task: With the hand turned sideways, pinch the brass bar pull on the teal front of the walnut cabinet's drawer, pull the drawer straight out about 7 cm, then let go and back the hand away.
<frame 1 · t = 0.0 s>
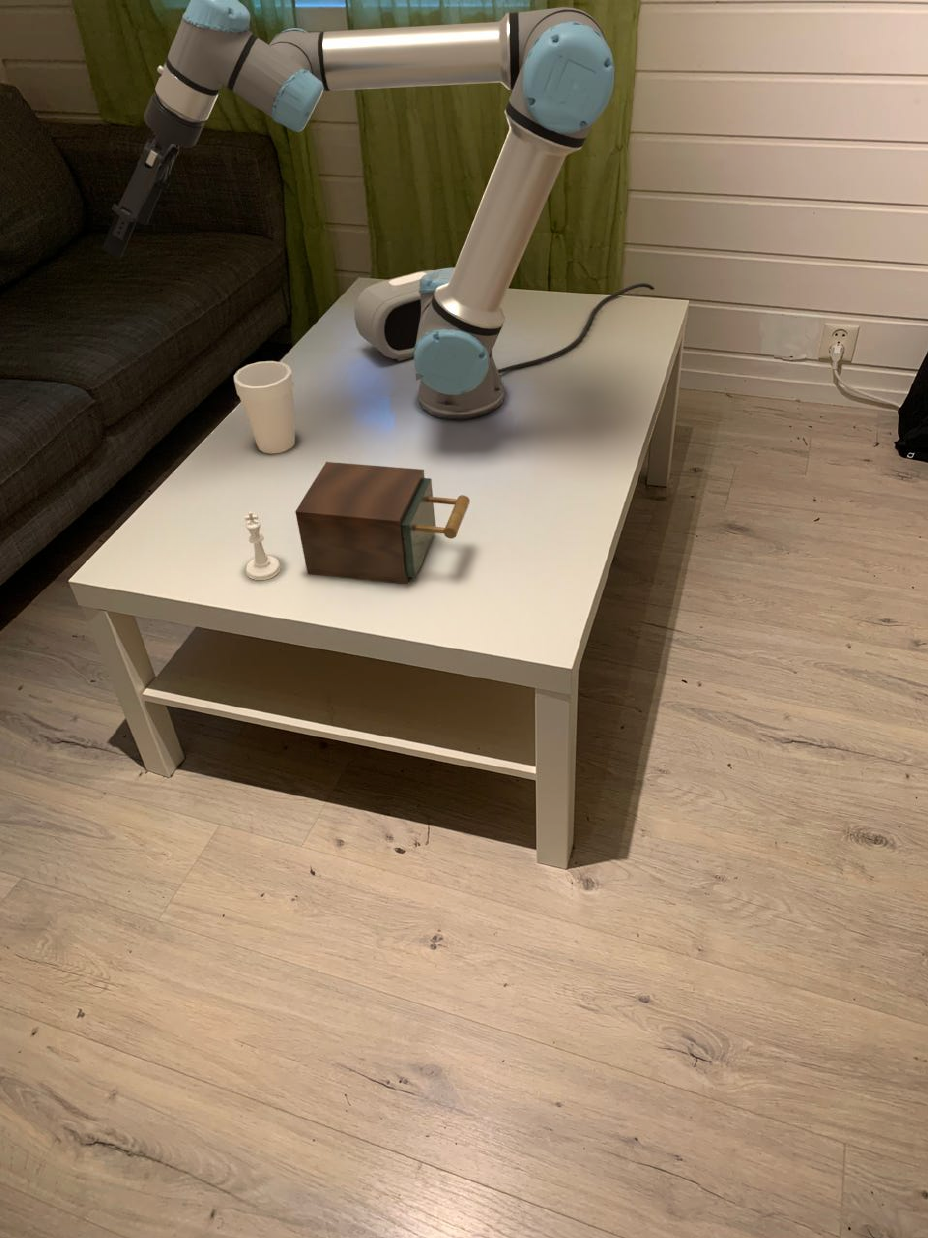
hand: (125, 236, 150), 36 cm above the table, tool tilted 35°, fingers open, 13 cm apart
cabinet: (369, 552, 147), on the table
foam cup: (276, 444, 172), on the table
alarm clock: (416, 346, 198), on the table
drawer: (397, 524, 142), point 5 cm above the table, slide at 0.0 cm, touching cabinet
chess piece: (263, 570, 145), on the table
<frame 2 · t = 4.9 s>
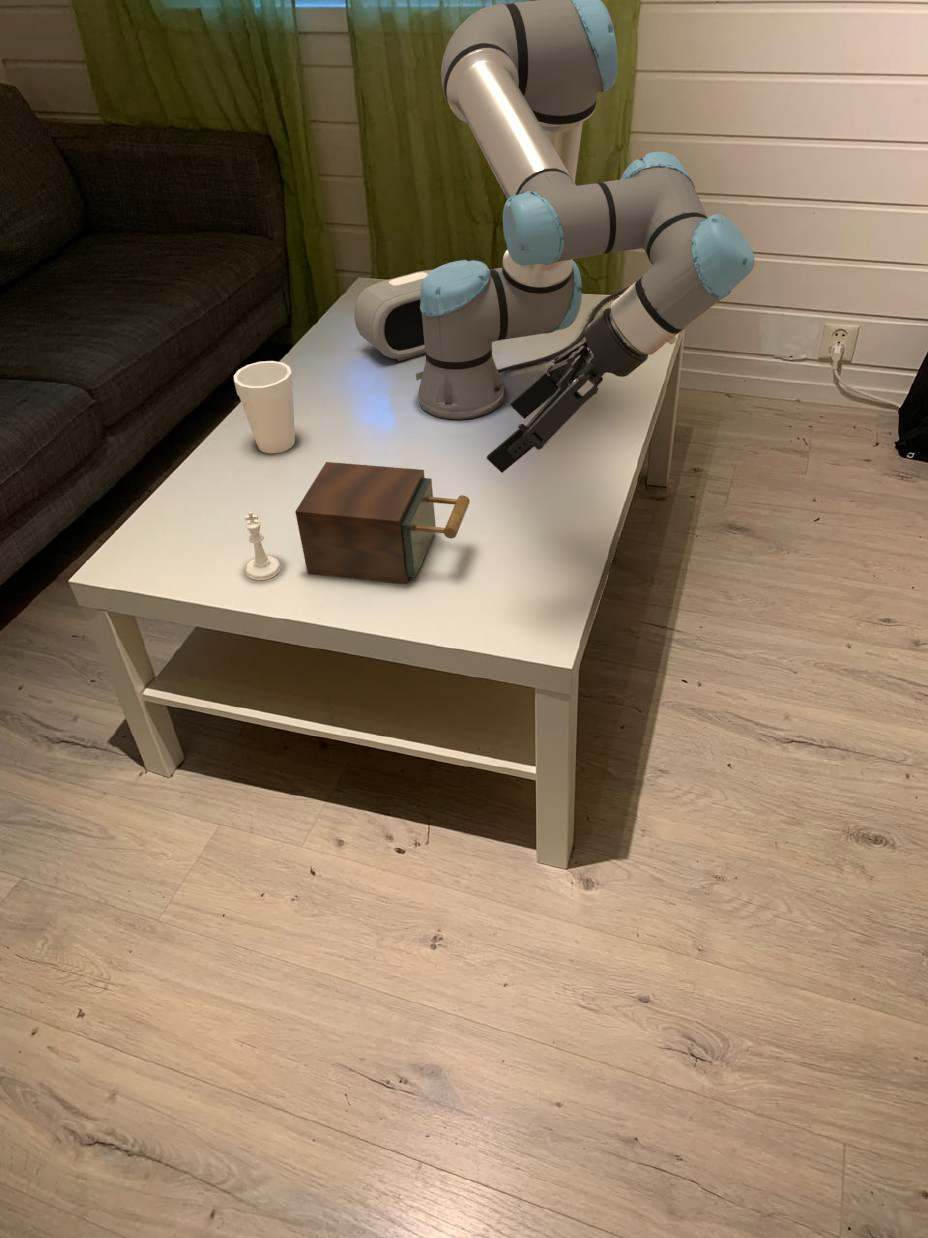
hand: (506, 436, 129), 21 cm above the table, tool tilted 45°, fingers open, 13 cm apart
nothing on the table moved.
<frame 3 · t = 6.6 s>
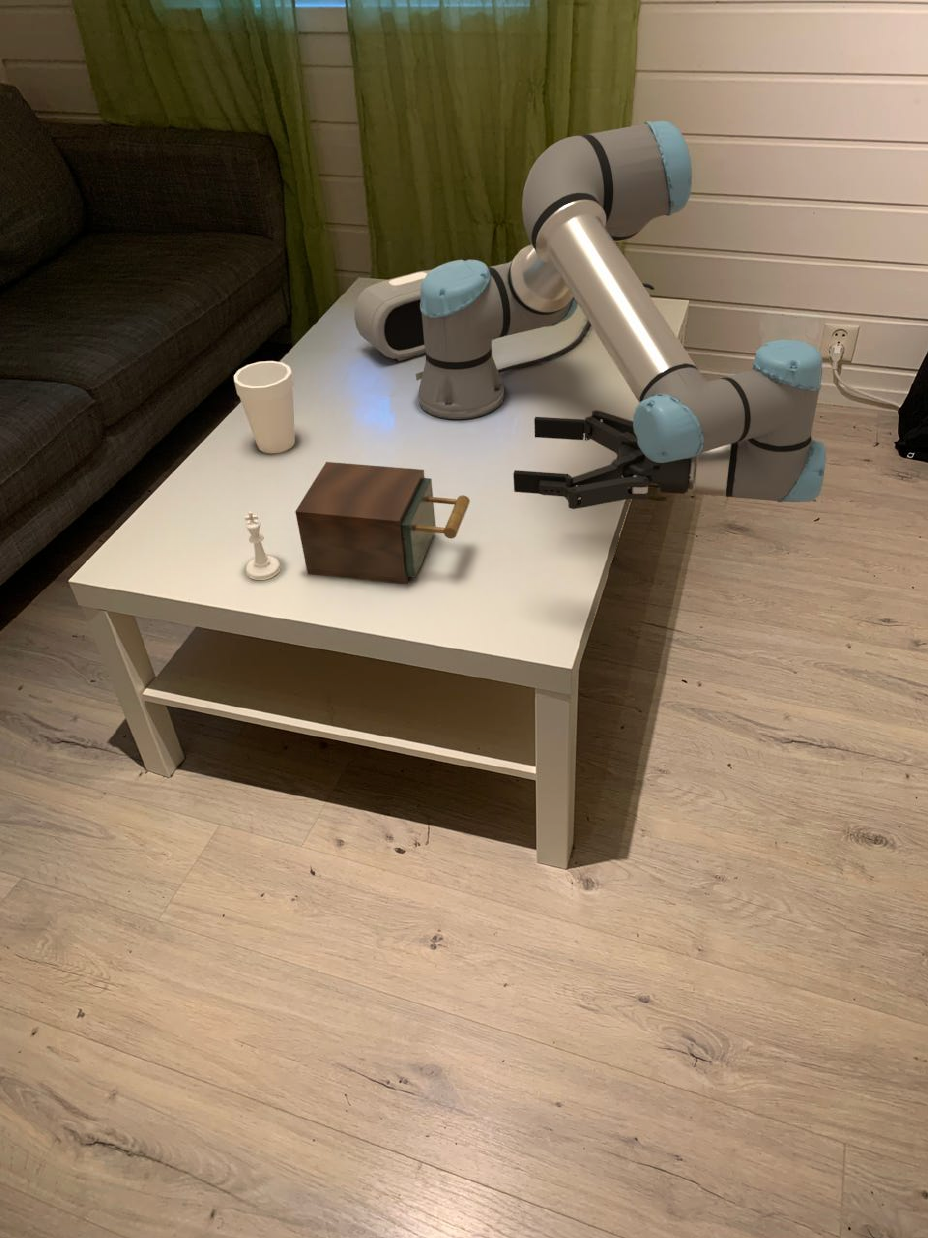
hand: (524, 452, 130), 19 cm above the table, tool horizontal, fingers open, 13 cm apart
nothing on the table moved.
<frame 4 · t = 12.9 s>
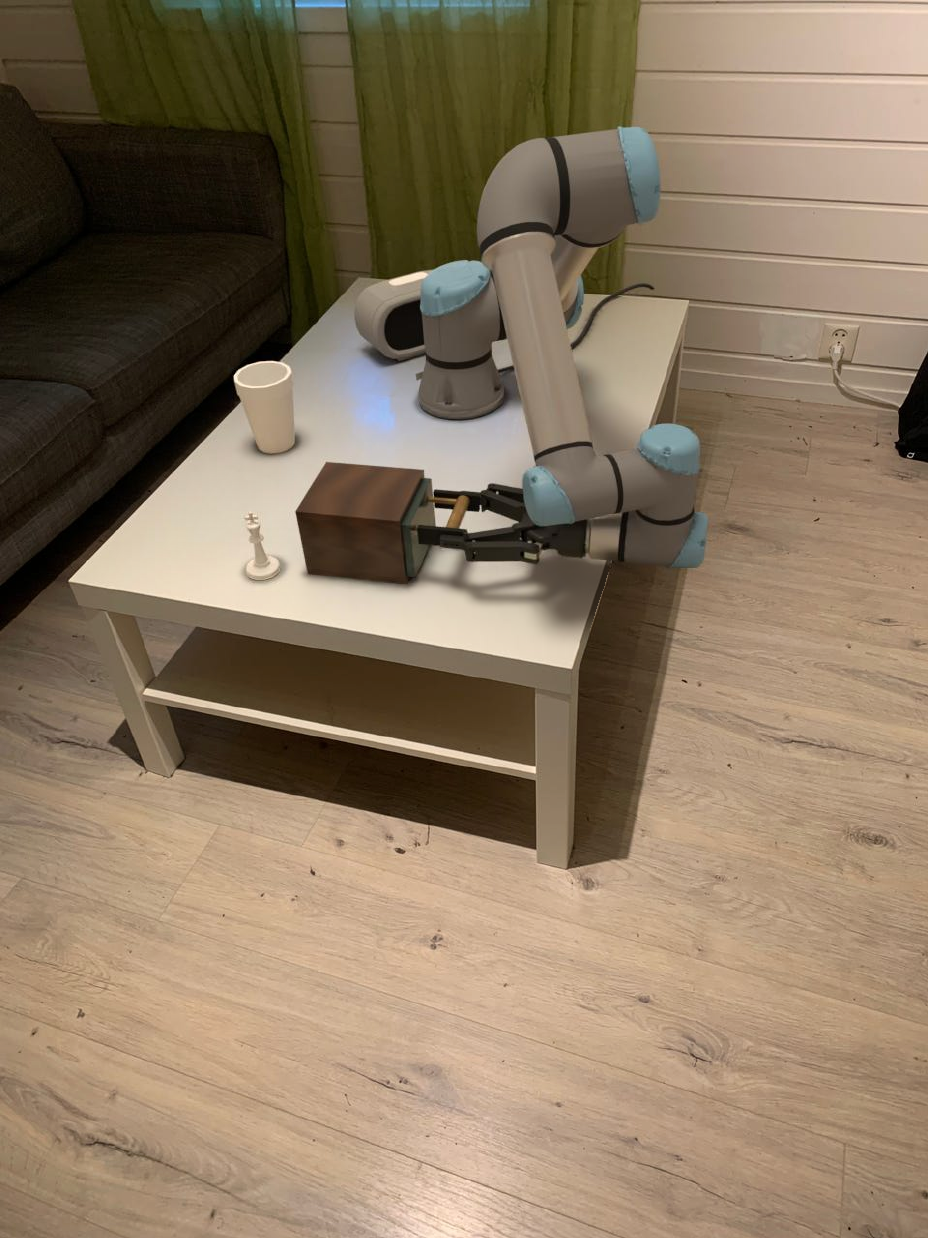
hand: (426, 516, 140), 7 cm above the table, tool horizontal, fingers closed on drawer, 8 cm apart
drawer: (397, 524, 142), point 5 cm above the table, slide at 0.0 cm, touching gripper
everything else where it was.
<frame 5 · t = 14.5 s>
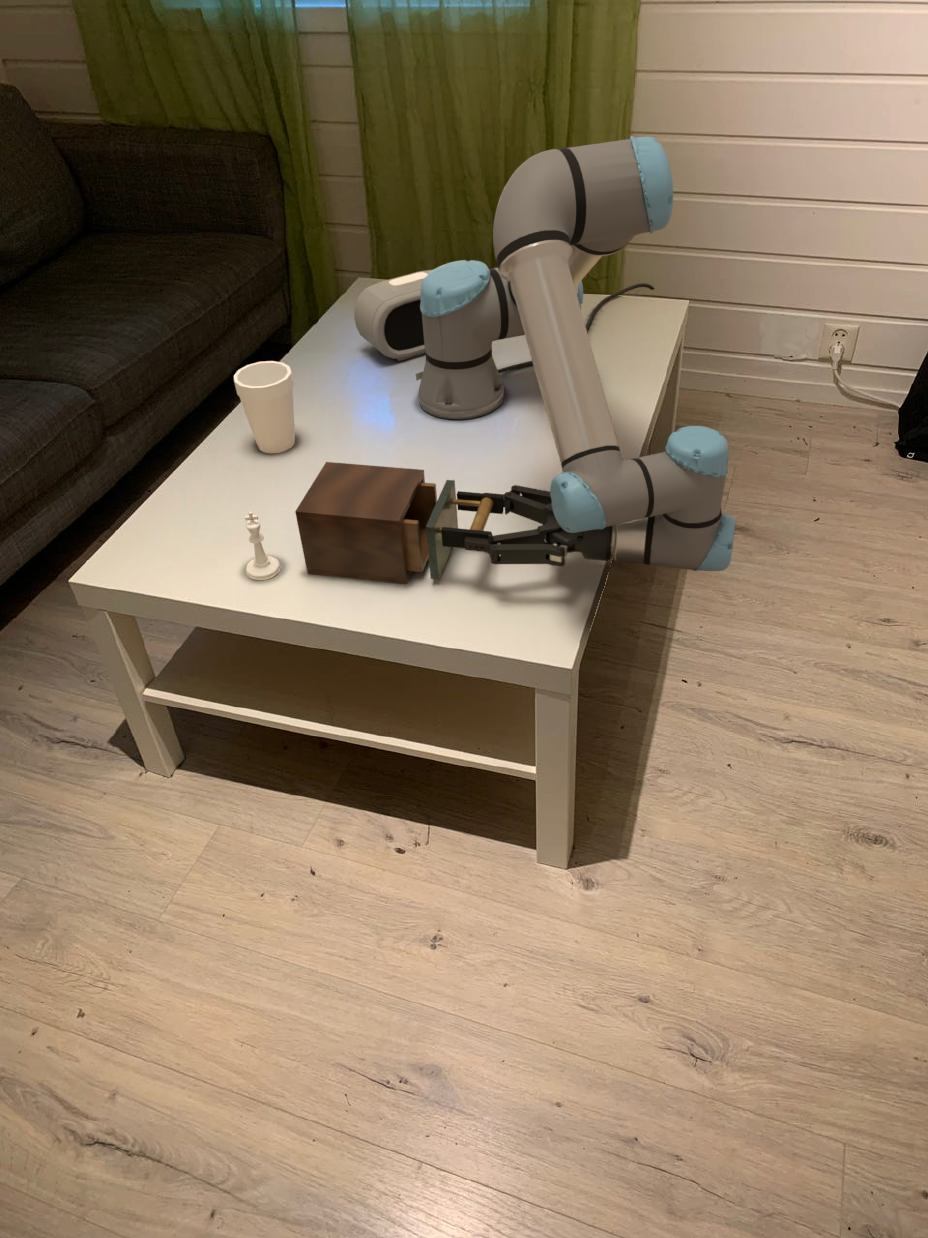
hand: (450, 518, 139), 7 cm above the table, tool horizontal, fingers closed on drawer, 8 cm apart
drawer: (420, 527, 142), point 5 cm above the table, slide at 3.4 cm, touching gripper
everything else where it was.
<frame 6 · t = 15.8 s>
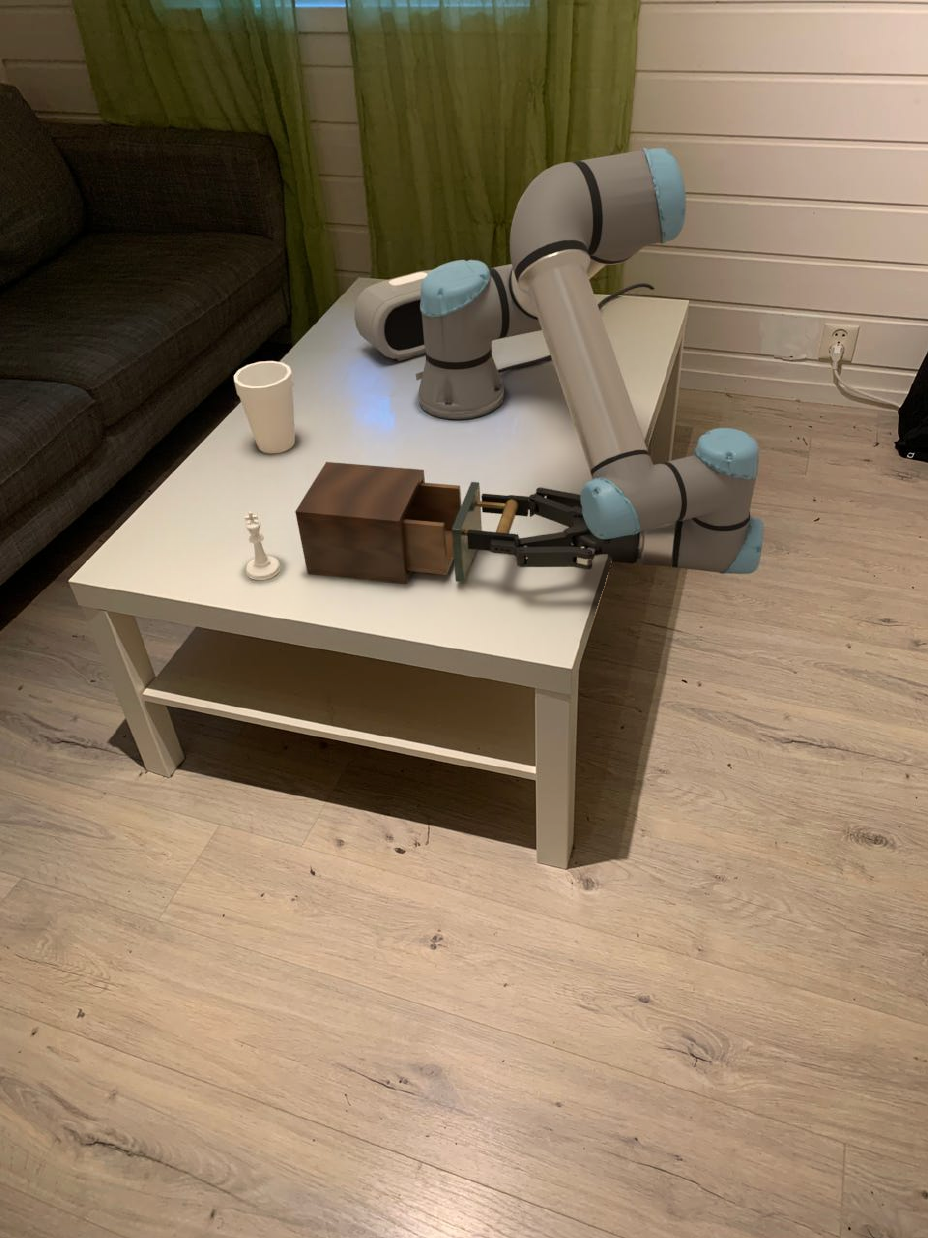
hand: (475, 520, 139), 7 cm above the table, tool horizontal, fingers closed on drawer, 8 cm apart
drawer: (445, 529, 141), point 5 cm above the table, slide at 7.0 cm, touching gripper
everything else where it was.
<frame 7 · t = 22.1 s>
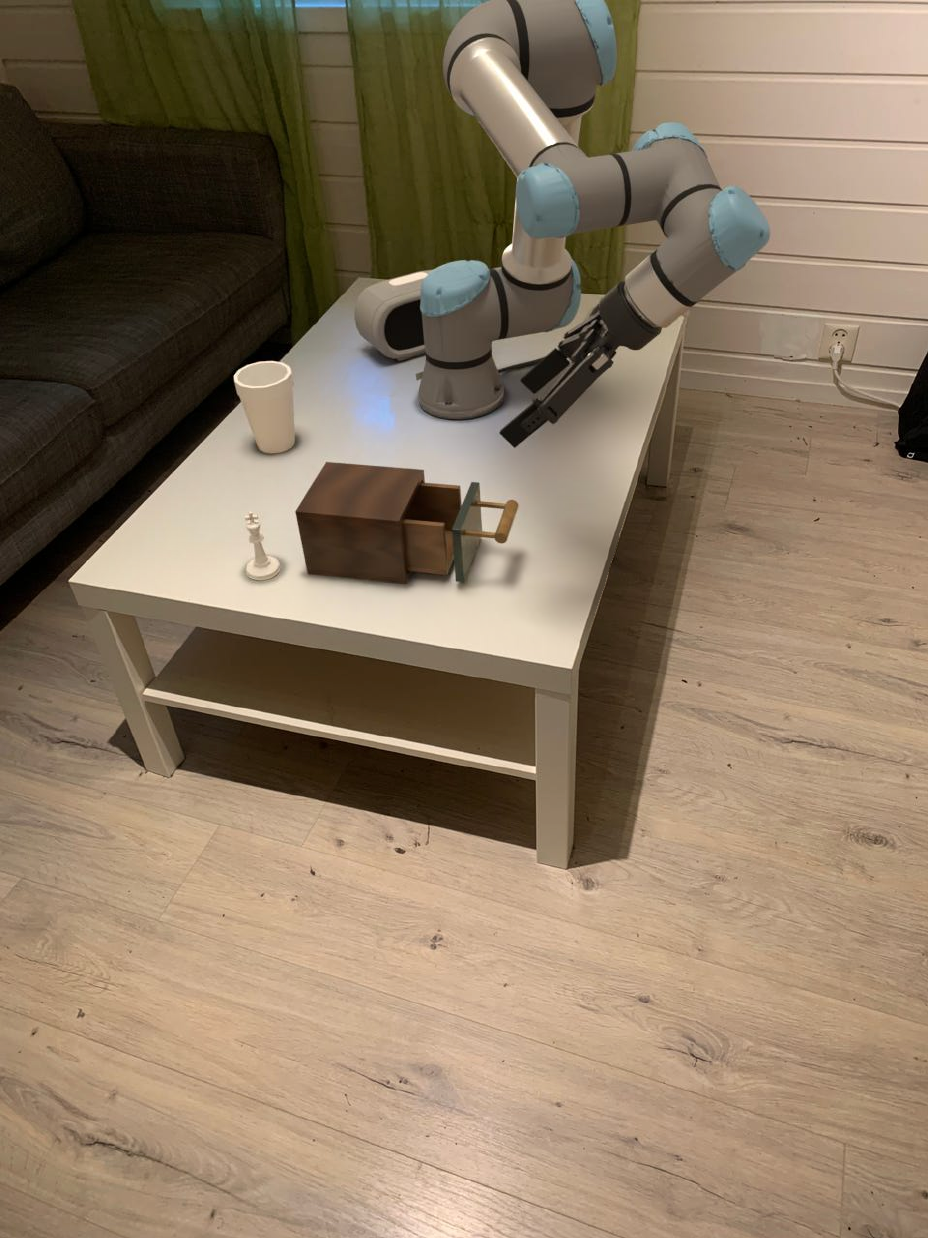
hand: (517, 411, 128), 23 cm above the table, tool tilted 45°, fingers open, 13 cm apart
drawer: (445, 529, 141), point 5 cm above the table, slide at 7.0 cm
everything else where it was.
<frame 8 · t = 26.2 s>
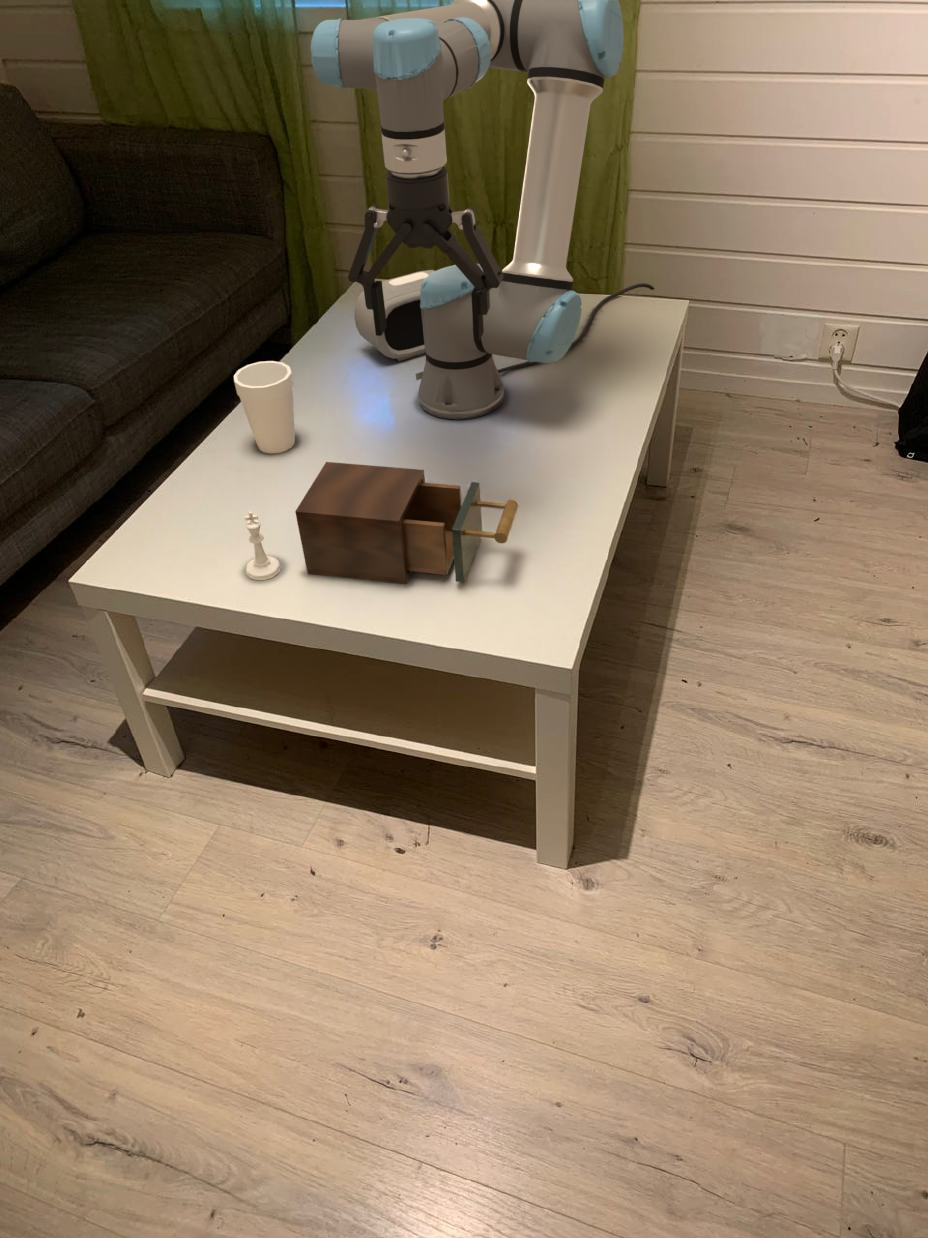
hand: (429, 334, 135), 29 cm above the table, tool pointing down, fingers open, 13 cm apart
nothing on the table moved.
at the end: drawer slide at 7.0 cm; the gripper is holding nothing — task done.
